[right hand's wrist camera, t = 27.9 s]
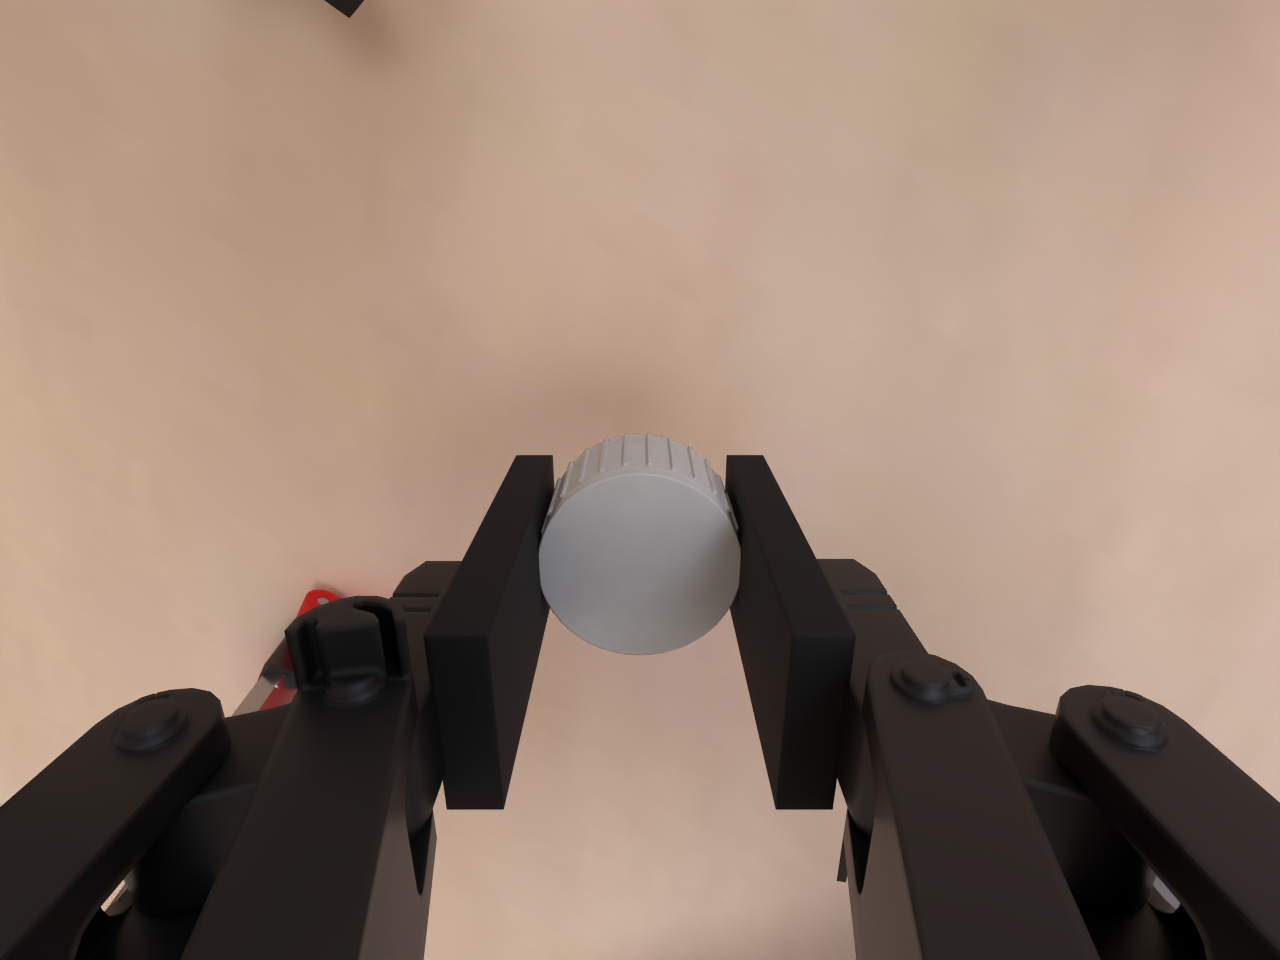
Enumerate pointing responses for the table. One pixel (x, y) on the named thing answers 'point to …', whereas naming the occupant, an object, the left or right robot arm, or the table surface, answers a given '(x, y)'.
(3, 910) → the right robot arm
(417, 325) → the table surface
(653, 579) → the cap
